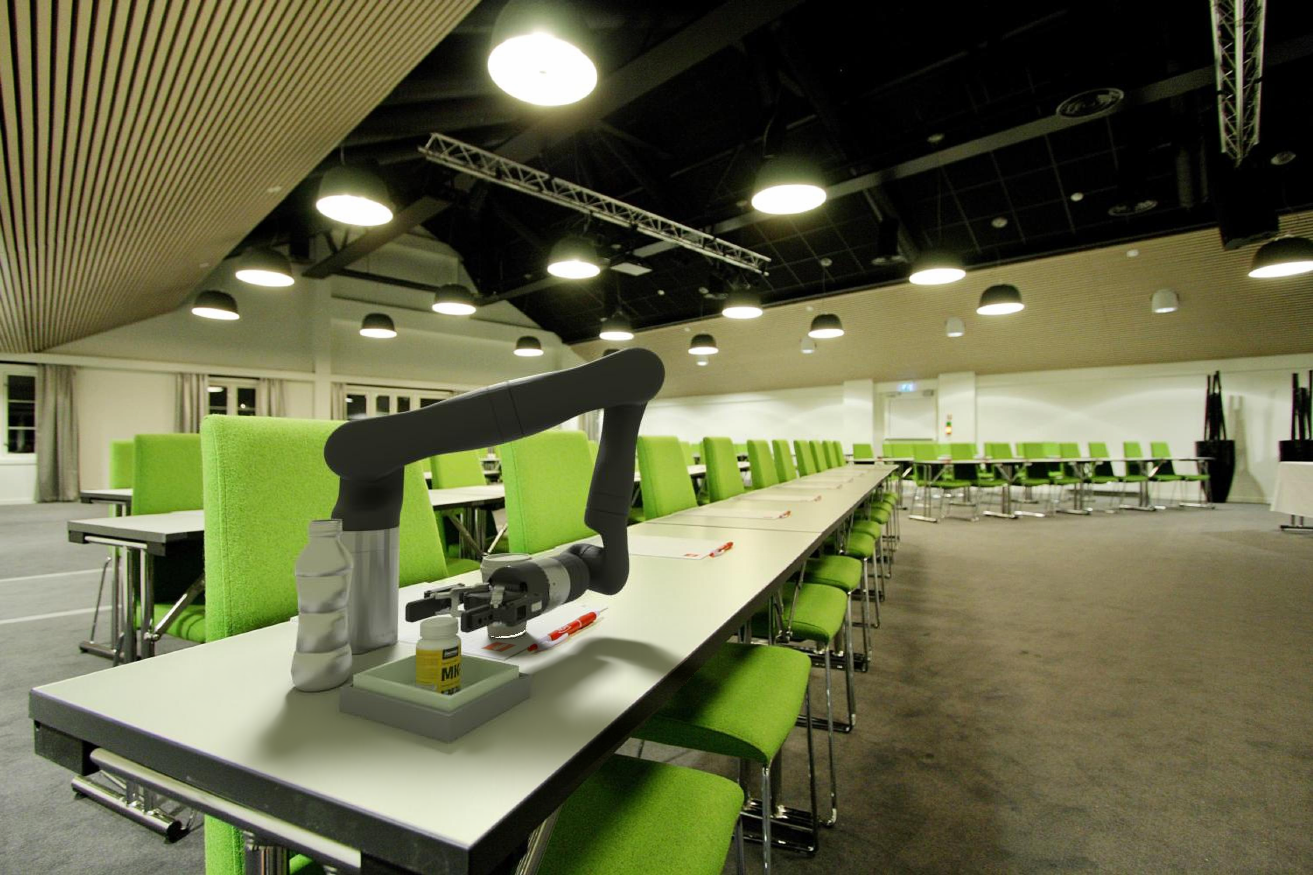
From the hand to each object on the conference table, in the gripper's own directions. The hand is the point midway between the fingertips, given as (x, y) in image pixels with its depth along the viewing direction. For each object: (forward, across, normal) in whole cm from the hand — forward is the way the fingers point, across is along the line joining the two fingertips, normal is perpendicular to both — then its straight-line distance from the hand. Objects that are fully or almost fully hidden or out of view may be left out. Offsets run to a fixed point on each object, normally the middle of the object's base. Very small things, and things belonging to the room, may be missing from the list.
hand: (434, 617), depth 64 cm
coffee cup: (-26, -12, +10) cm, 30 cm away
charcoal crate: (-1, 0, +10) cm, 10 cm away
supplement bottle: (-1, 0, +9) cm, 9 cm away
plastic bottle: (+2, -17, +10) cm, 20 cm away
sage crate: (-1, 0, +9) cm, 9 cm away
